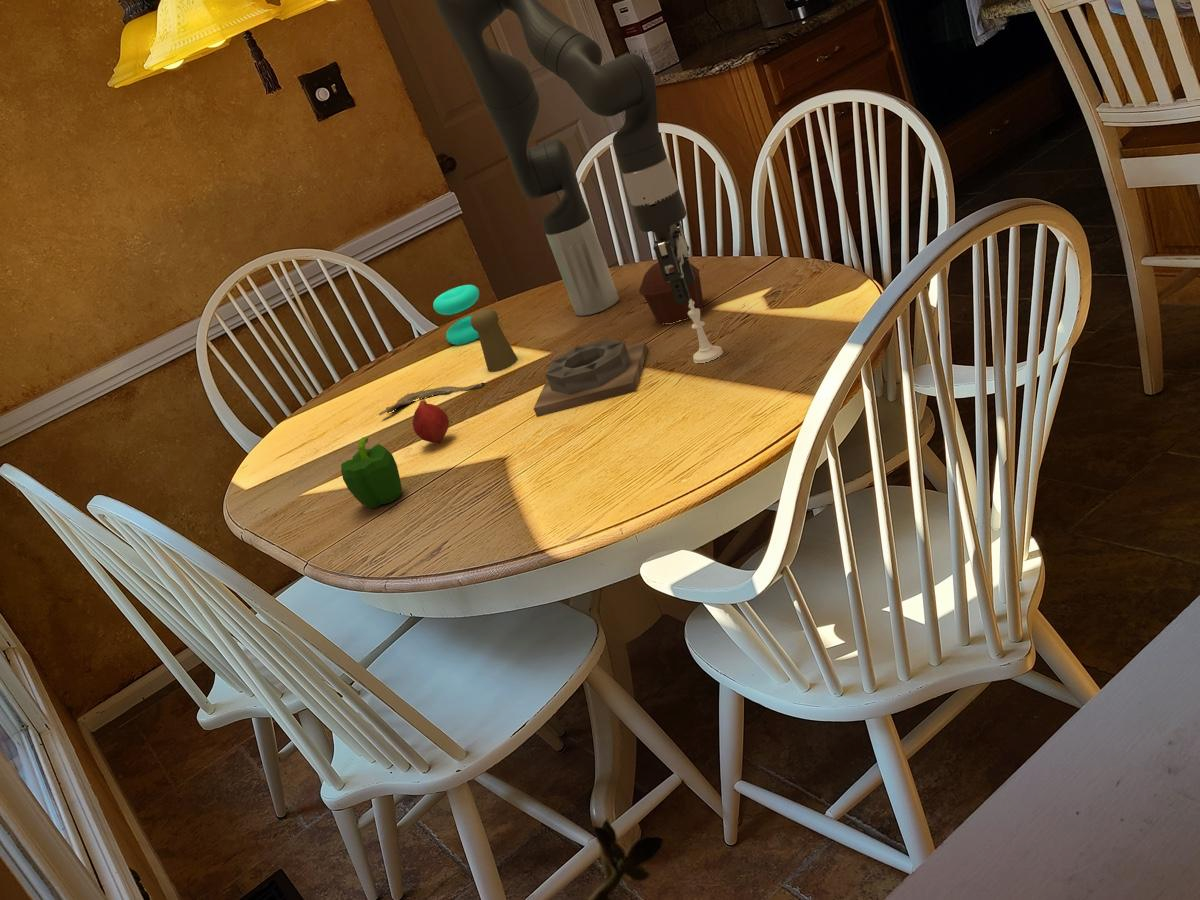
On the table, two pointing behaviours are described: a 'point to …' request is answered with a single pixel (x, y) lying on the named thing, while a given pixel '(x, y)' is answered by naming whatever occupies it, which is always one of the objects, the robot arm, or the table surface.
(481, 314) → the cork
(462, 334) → the donuts
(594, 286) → the robot arm
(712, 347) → the chess piece
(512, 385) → the table surface
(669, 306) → the muffin
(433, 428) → the onion
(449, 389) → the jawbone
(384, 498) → the bell pepper
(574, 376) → the collar socket
